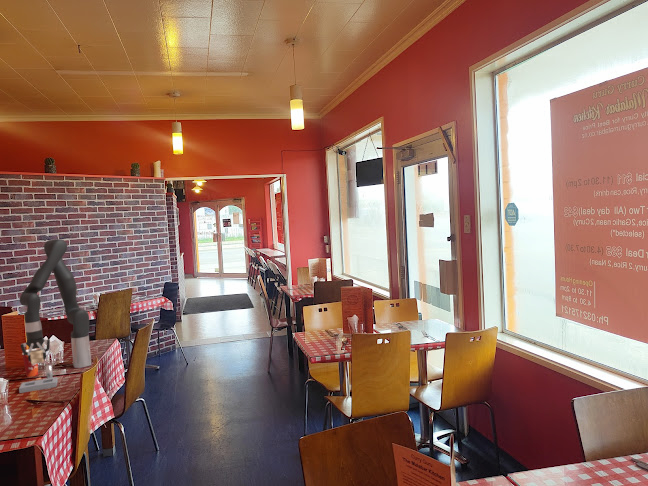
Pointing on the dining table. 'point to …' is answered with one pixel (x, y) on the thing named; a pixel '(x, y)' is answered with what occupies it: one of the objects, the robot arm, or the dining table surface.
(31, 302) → the robot arm
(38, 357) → the tan wooden cube
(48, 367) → the peg
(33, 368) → the paper cup
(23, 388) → the board
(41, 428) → the dining table surface
